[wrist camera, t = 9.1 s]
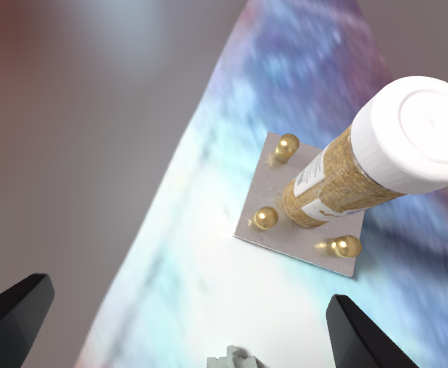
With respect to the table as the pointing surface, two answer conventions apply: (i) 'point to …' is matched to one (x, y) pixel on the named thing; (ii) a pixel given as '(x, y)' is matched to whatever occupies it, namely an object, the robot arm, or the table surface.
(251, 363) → the metal bracket
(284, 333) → the table surface
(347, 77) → the table surface
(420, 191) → the sprinkles bottle
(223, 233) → the table surface
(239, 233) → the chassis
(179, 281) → the table surface
